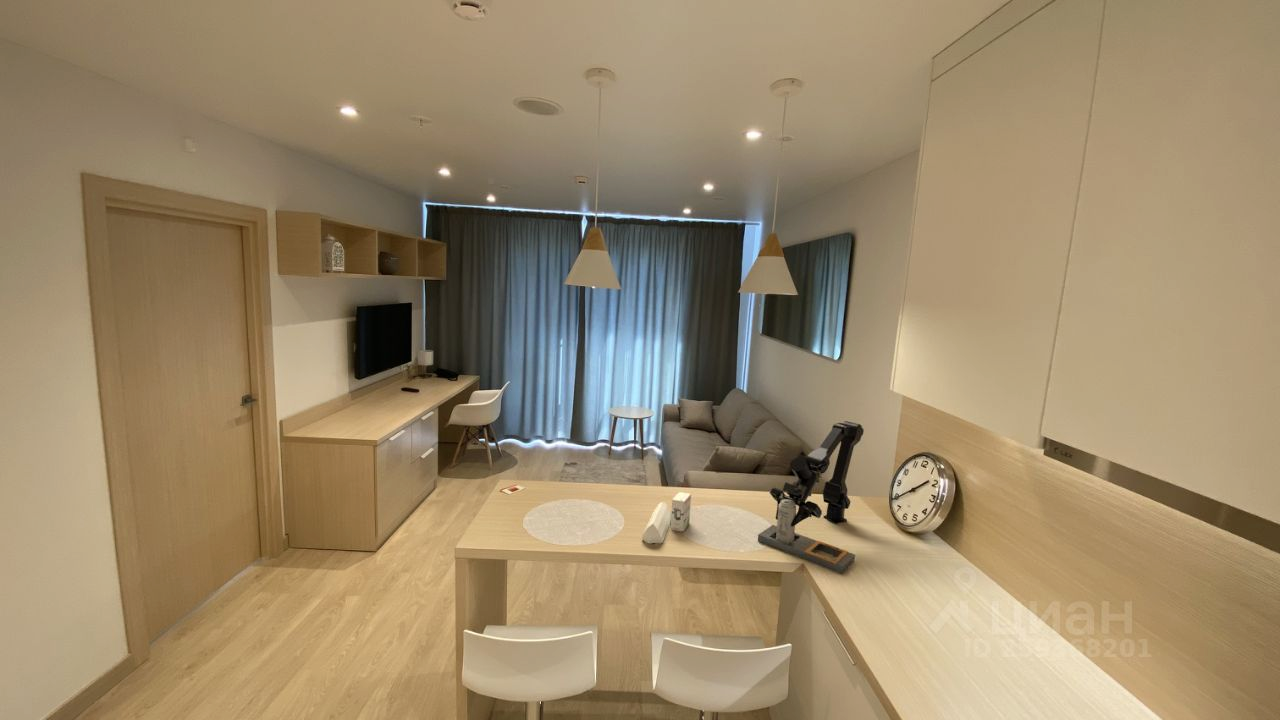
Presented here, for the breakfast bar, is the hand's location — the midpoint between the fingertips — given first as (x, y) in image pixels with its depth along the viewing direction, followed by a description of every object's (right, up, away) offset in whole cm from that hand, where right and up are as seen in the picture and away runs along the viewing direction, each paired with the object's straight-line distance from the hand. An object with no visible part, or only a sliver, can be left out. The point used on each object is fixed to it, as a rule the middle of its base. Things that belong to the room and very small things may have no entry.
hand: (783, 522), depth 179 cm
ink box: (-35, -5, +12) cm, 38 cm away
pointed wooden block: (-44, -6, +9) cm, 45 cm away
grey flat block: (+6, -9, -3) cm, 11 cm away
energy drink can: (+1, -8, +2) cm, 8 cm away
